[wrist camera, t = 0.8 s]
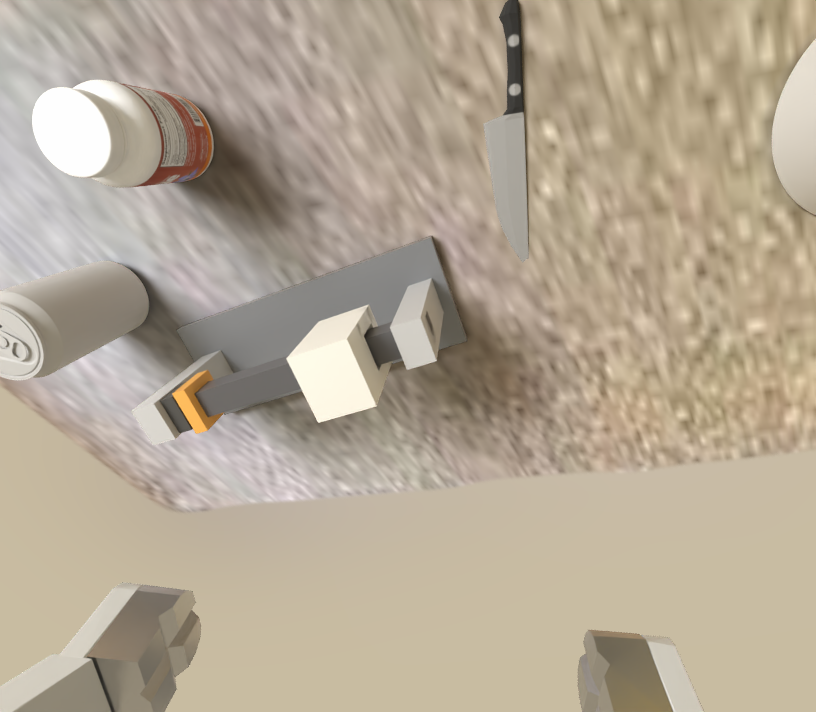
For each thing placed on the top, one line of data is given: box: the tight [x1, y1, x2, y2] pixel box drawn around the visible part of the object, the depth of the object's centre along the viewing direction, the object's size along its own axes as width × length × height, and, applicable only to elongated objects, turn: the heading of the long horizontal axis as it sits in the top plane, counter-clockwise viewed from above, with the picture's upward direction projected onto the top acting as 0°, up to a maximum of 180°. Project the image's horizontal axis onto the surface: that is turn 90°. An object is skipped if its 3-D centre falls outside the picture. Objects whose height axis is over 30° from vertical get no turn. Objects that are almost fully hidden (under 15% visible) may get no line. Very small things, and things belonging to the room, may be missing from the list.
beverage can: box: [0, 261, 149, 380], centre depth 37 cm, size 6×6×12 cm
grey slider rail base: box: [131, 236, 467, 445], centre depth 37 cm, size 24×9×11 cm, turn 111°
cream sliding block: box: [286, 305, 393, 423], centre depth 32 cm, size 4×5×7 cm
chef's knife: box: [483, 0, 529, 263], centre depth 35 cm, size 19×1×3 cm
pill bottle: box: [32, 80, 214, 188], centre depth 32 cm, size 6×6×11 cm
